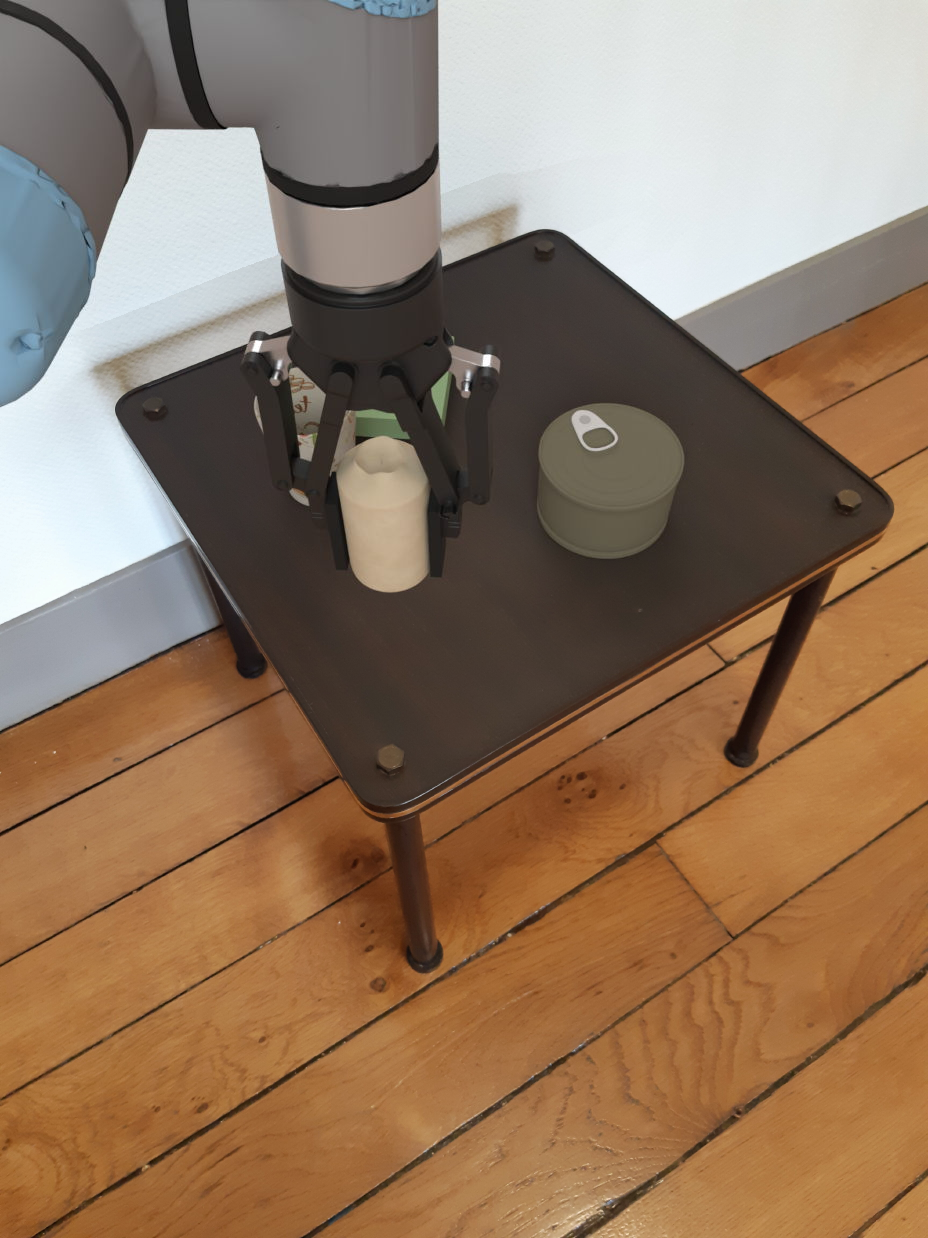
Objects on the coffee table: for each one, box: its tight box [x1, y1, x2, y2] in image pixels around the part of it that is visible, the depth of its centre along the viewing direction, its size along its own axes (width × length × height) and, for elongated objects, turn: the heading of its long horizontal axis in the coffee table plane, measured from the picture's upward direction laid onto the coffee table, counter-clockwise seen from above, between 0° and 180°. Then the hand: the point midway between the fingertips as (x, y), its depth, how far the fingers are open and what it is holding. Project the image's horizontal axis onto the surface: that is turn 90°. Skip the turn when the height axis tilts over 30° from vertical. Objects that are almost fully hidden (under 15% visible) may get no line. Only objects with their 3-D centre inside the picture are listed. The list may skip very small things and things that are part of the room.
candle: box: [336, 436, 431, 593], centre depth 59 cm, size 6×6×10 cm
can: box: [536, 402, 685, 560], centre depth 81 cm, size 12×12×7 cm
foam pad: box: [355, 335, 455, 440], centre depth 91 cm, size 12×12×2 cm
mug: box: [253, 366, 356, 507], centre depth 80 cm, size 8×13×10 cm, turn 18°
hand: (391, 557), depth 63 cm, fingers closed on candle, 5 cm apart
